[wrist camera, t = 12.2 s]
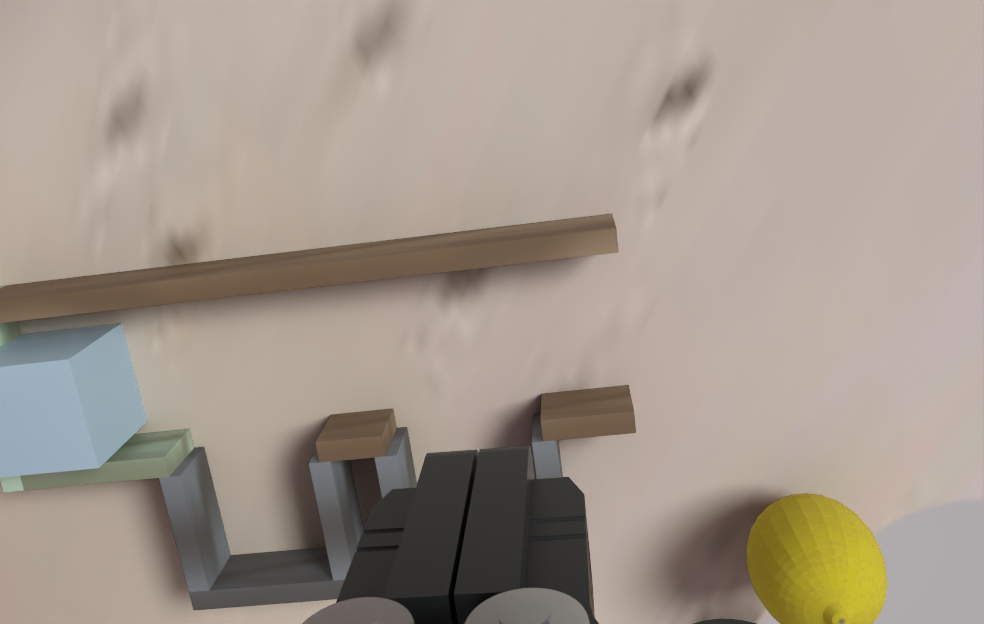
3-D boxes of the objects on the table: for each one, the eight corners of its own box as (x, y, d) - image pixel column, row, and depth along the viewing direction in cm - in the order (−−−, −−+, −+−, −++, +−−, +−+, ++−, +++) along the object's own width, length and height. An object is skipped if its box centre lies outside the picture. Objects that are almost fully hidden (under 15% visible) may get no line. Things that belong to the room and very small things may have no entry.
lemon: (750, 581, 45) (790, 695, 37) (717, 483, 43) (752, 581, 36) (864, 550, 44) (929, 660, 36) (835, 449, 42) (896, 541, 35)
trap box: (-15, 288, 43) (-56, 306, 40) (611, 213, 40) (616, 228, 37) (75, 585, 47) (45, 621, 44) (643, 539, 44) (649, 574, 42)
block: (21, 333, 43) (-44, 371, 39) (122, 322, 43) (68, 359, 38) (50, 430, 45) (-10, 478, 40) (148, 420, 44) (99, 468, 40)
